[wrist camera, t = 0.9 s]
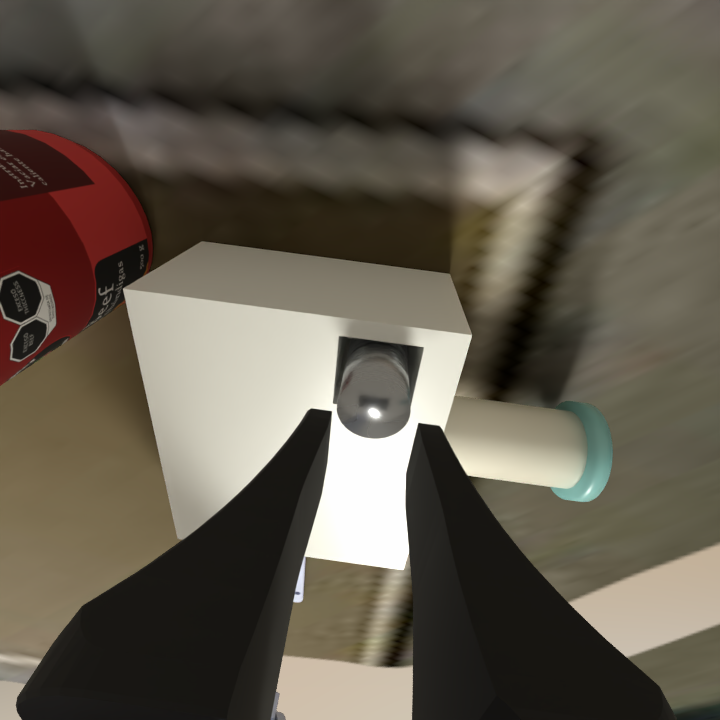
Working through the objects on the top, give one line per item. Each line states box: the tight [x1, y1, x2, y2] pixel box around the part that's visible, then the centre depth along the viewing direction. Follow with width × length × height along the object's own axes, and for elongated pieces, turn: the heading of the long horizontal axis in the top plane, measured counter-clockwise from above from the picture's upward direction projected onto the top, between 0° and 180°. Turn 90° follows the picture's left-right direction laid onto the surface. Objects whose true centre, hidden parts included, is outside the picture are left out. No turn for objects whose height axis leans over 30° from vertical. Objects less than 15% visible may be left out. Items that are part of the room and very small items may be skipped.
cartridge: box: [444, 396, 613, 502], centre depth 19 cm, size 5×17×5 cm, turn 84°
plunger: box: [337, 338, 411, 439], centre depth 14 cm, size 2×2×4 cm
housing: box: [123, 241, 472, 570], centre depth 20 cm, size 14×12×6 cm
